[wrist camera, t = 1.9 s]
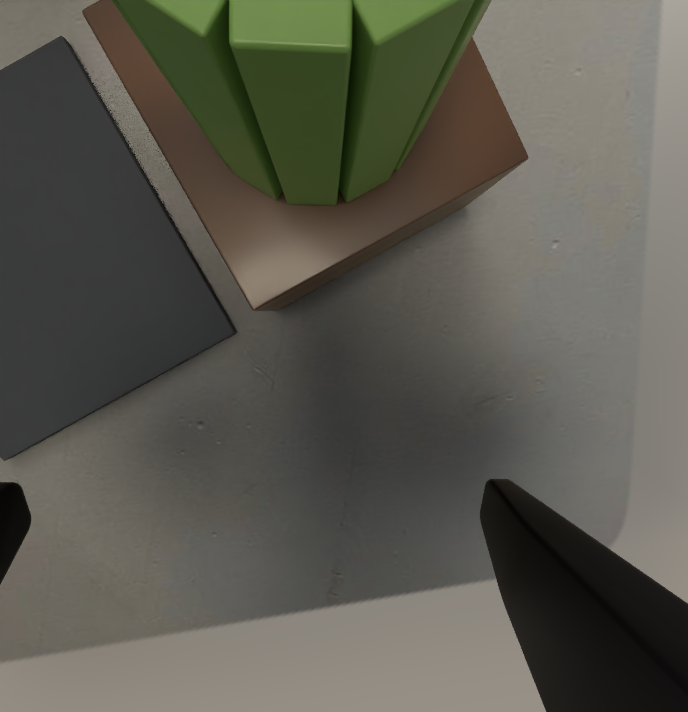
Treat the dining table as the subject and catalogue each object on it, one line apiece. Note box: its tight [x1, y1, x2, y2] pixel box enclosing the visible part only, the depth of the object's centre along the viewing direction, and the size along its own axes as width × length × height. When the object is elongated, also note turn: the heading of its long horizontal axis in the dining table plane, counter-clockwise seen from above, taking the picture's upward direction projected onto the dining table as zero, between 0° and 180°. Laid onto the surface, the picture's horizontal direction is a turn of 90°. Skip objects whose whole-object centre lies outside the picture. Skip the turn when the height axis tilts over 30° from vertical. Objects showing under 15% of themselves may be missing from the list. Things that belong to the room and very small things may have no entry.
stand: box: [82, 0, 528, 311], centre depth 14 cm, size 10×10×9 cm
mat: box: [0, 36, 236, 461], centre depth 19 cm, size 14×12×1 cm
